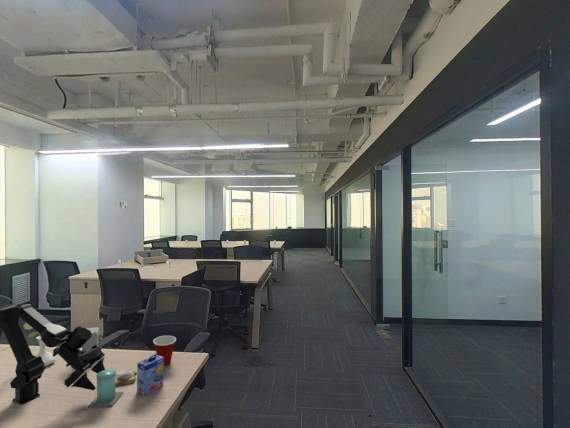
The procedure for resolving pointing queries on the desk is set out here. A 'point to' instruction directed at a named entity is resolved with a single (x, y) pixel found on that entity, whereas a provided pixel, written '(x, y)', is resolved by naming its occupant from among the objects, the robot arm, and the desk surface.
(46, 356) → the flower in vase
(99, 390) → the teal rounded cylinder
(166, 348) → the plastic cup
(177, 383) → the desk surface
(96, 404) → the mat
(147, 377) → the ink cartridge box
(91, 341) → the skincare box
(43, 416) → the desk surface
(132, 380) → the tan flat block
